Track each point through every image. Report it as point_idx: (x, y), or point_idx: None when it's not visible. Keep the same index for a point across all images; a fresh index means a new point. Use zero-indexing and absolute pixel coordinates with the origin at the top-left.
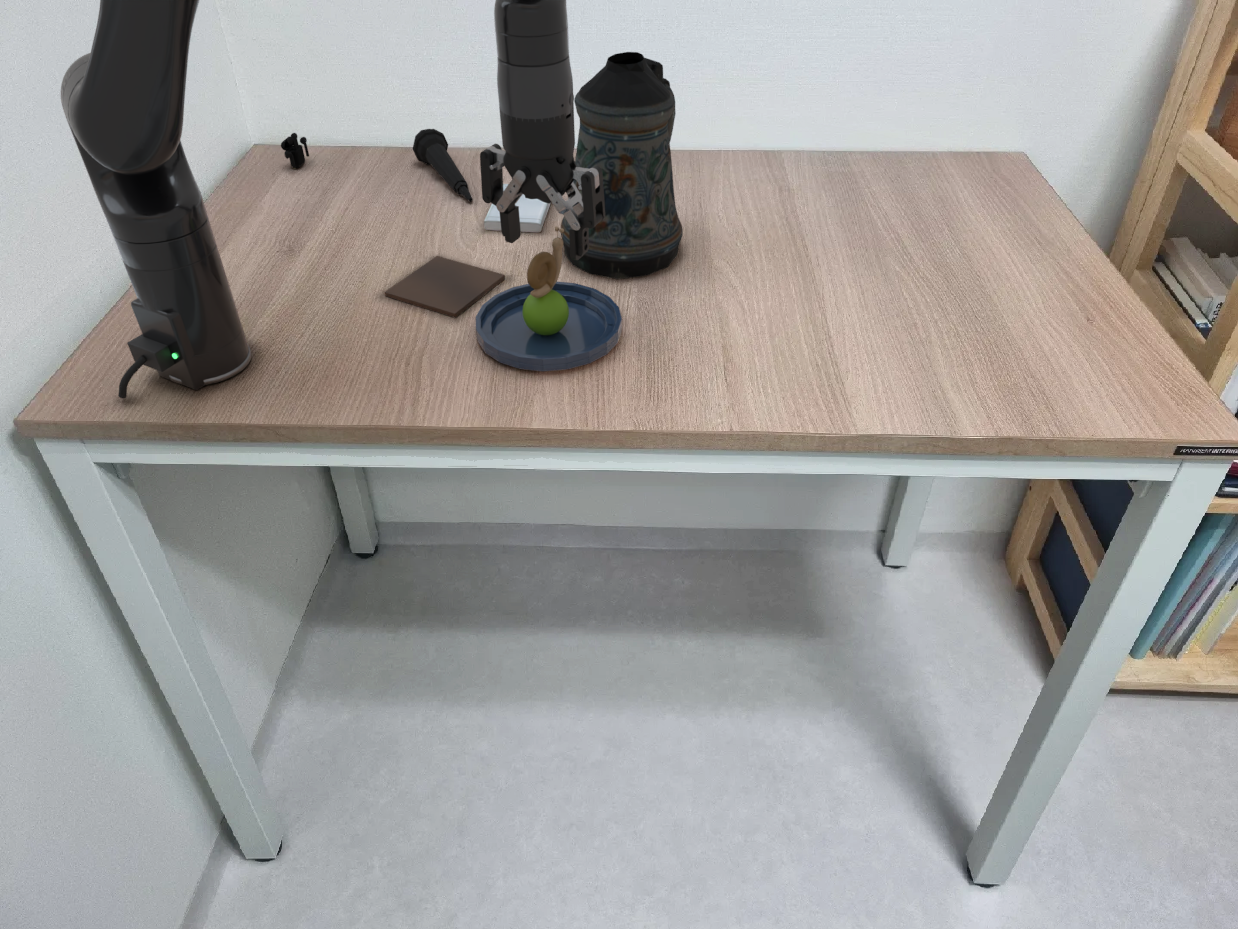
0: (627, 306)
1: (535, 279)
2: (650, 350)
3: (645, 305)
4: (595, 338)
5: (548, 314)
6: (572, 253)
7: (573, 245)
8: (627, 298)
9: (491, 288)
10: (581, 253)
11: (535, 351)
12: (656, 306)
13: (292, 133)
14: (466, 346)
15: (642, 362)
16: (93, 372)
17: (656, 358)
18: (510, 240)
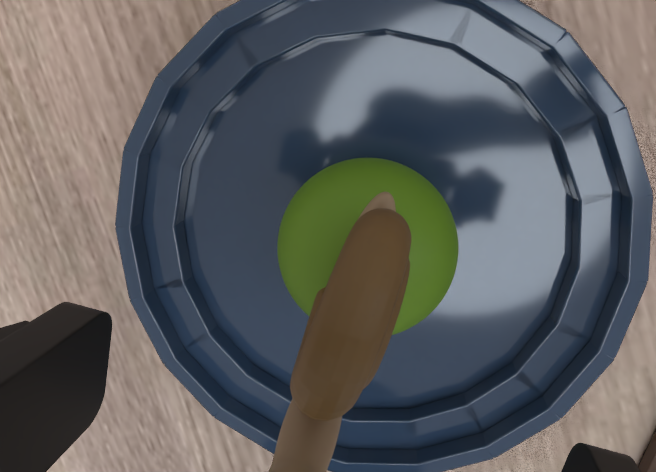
0: (193, 422)
1: (356, 221)
2: (54, 218)
3: (148, 435)
4: (210, 225)
5: (323, 181)
6: (62, 318)
7: (6, 345)
8: (207, 461)
9: (648, 448)
10: (8, 330)
11: (372, 99)
12: (119, 435)
13: None
14: (641, 84)
15: (51, 151)
16: None
17: (24, 181)
18: (587, 453)
